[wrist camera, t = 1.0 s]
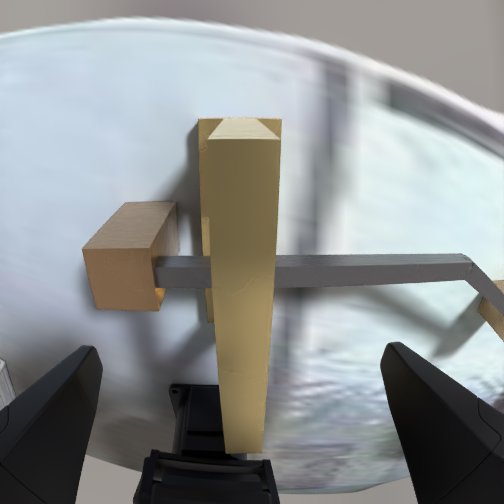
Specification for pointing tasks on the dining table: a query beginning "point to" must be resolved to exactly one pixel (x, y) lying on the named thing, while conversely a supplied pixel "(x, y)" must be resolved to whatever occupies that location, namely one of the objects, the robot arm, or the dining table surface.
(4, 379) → the medicine box
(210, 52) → the dining table surface
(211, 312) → the wooden frame
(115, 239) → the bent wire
